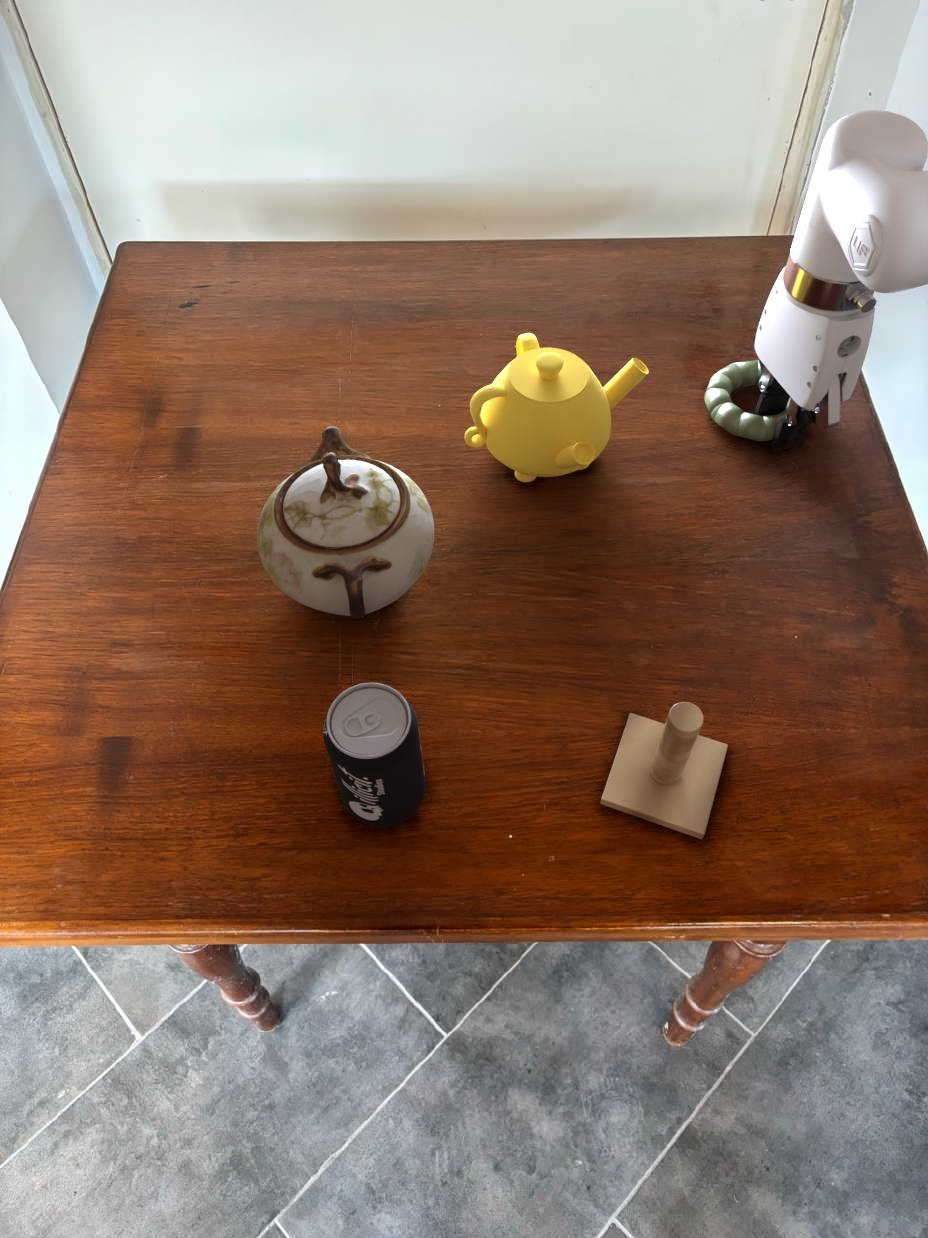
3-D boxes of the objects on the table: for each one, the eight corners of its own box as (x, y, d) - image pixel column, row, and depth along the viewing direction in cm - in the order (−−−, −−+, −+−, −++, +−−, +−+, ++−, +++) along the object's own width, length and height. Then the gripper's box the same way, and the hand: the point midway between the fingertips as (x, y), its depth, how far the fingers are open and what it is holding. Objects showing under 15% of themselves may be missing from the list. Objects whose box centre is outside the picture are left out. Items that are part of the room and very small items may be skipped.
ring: (815, 387, 98) (822, 369, 96) (797, 456, 92) (804, 438, 90) (716, 364, 100) (720, 346, 98) (693, 430, 95) (697, 412, 93)
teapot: (580, 524, 88) (592, 439, 79) (453, 473, 92) (450, 386, 83) (640, 427, 95) (657, 338, 86) (520, 383, 99) (523, 294, 90)
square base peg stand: (725, 750, 75) (755, 687, 67) (701, 840, 71) (730, 785, 63) (628, 718, 77) (645, 653, 69) (599, 804, 73) (614, 746, 64)
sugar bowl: (265, 507, 90) (230, 388, 78) (420, 485, 91) (409, 364, 79) (280, 683, 79) (242, 578, 67) (455, 655, 81) (449, 546, 68)
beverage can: (438, 813, 73) (431, 743, 63) (357, 843, 71) (336, 777, 61) (409, 741, 76) (398, 664, 66) (331, 769, 75) (308, 695, 65)
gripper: (929, 321, 75) (855, 480, 90) (816, 211, 84) (766, 372, 99) (847, 345, 74) (786, 501, 89) (742, 230, 82) (702, 391, 98)
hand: (776, 432), depth 94 cm, fingers closed on ring, 2 cm apart
